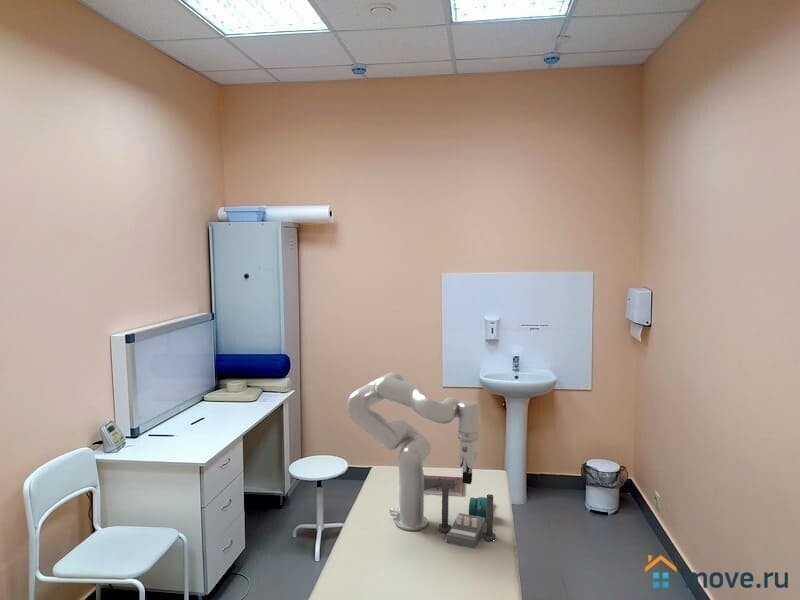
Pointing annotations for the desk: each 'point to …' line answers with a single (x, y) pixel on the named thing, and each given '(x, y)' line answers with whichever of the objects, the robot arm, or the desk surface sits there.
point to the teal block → (478, 507)
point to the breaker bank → (466, 521)
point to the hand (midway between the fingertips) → (467, 482)
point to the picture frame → (442, 485)
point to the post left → (444, 512)
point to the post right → (489, 520)
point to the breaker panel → (466, 532)
